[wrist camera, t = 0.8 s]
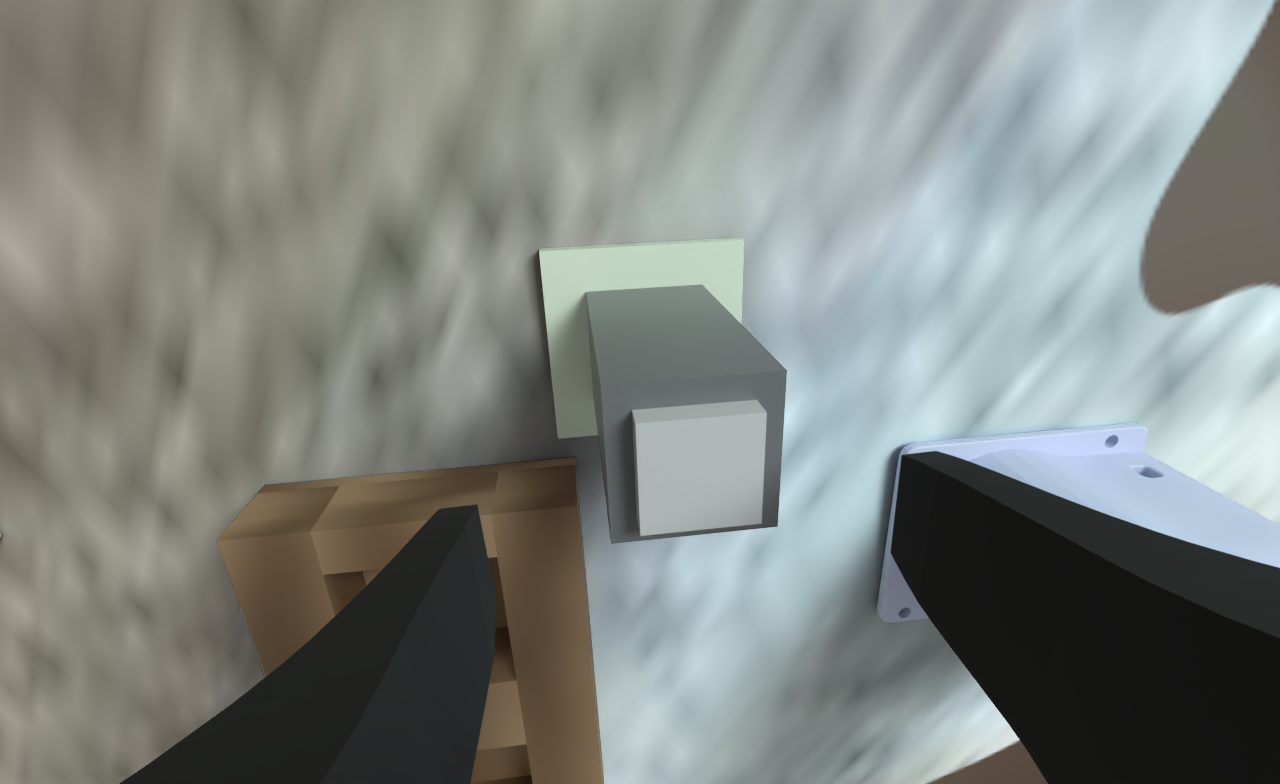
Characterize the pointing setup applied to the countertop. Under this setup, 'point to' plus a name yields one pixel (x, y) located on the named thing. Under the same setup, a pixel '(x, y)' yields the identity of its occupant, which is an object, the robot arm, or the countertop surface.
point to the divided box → (522, 578)
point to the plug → (683, 414)
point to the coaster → (617, 270)
